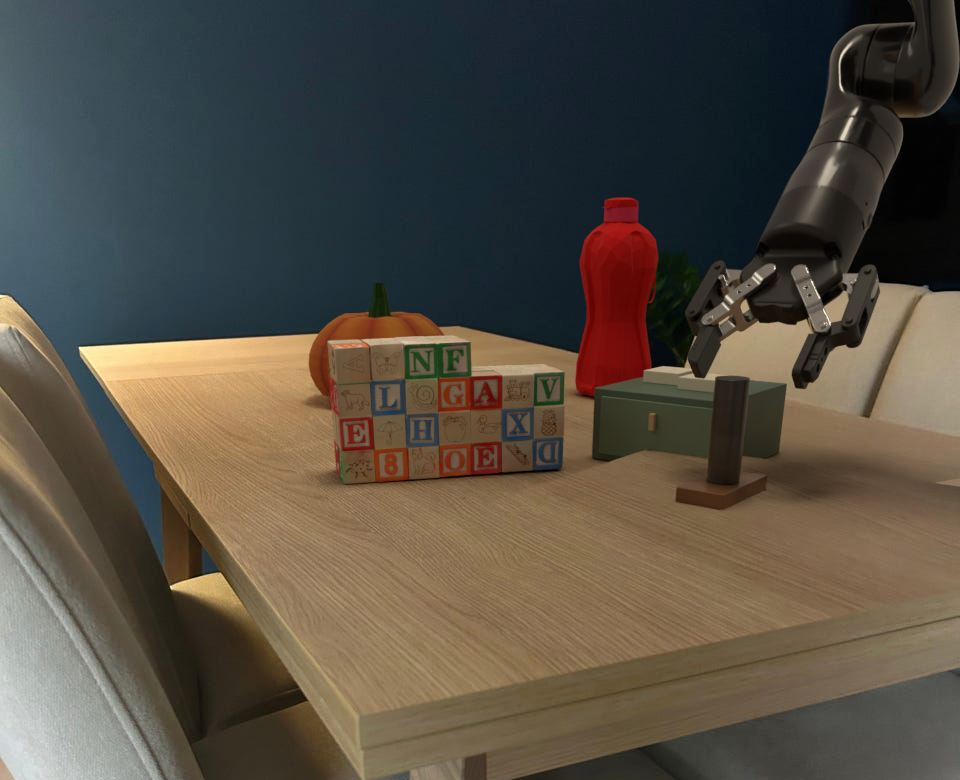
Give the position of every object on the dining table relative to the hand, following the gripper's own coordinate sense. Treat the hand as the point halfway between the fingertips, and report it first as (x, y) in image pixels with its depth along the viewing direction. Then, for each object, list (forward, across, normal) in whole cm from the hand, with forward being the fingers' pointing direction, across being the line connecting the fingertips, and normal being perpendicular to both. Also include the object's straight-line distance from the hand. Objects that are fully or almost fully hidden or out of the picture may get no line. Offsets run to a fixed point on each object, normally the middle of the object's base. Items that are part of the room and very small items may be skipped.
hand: (745, 377), depth 76 cm
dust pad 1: (-10, -16, +15) cm, 24 cm away
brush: (+9, 0, +6) cm, 11 cm away
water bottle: (-24, -39, +40) cm, 61 cm away
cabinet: (-4, -13, +19) cm, 23 cm away
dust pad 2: (-8, -11, +14) cm, 19 cm away
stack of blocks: (+10, -28, +5) cm, 30 cm away
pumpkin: (-8, -62, +24) cm, 67 cm away
